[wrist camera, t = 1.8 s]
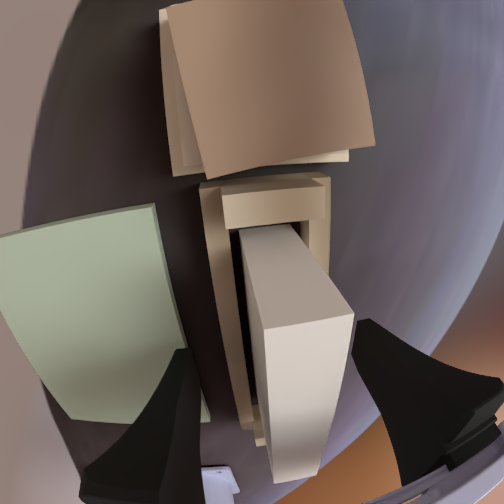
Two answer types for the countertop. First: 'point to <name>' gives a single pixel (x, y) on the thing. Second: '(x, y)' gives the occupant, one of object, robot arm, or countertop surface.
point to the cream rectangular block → (293, 346)
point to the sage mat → (94, 310)
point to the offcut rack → (260, 128)
